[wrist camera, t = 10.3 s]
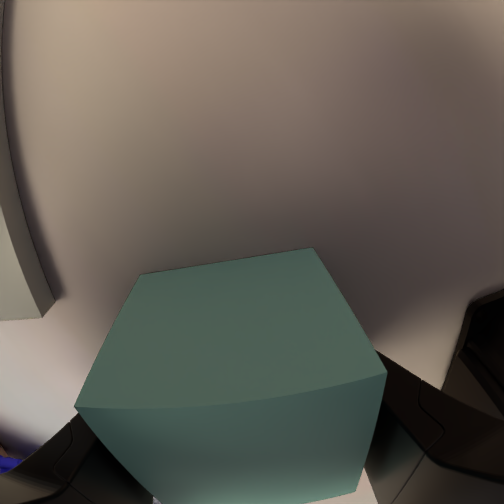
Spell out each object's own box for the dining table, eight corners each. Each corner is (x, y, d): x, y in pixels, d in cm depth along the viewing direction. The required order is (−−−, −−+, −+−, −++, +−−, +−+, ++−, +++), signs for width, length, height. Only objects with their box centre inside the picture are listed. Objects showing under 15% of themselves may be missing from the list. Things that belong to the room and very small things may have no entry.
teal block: (312, 247, 9) (387, 371, 4) (318, 373, 11) (355, 491, 6) (140, 274, 9) (73, 406, 4) (184, 392, 11) (171, 511, 6)
